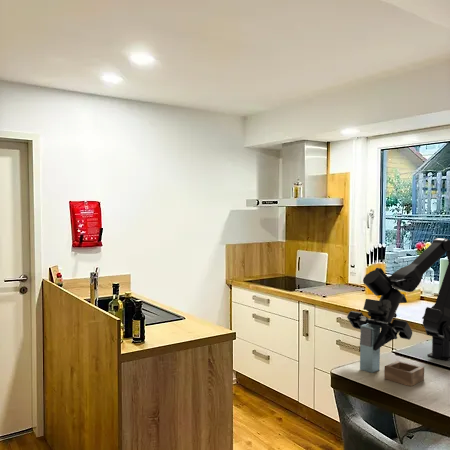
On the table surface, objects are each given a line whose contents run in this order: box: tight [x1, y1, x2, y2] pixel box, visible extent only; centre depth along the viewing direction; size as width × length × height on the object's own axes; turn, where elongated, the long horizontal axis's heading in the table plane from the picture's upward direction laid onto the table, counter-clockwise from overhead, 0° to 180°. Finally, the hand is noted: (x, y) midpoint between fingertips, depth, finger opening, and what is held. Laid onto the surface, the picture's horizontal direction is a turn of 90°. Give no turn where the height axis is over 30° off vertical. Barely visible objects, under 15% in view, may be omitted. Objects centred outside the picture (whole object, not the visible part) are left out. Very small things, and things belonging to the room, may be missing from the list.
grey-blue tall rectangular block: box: [359, 323, 381, 374], centre depth 135 cm, size 4×4×13 cm
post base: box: [383, 360, 425, 387], centre depth 128 cm, size 8×8×4 cm
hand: (367, 348), depth 135 cm, fingers closed on grey-blue tall rectangular block, 4 cm apart
